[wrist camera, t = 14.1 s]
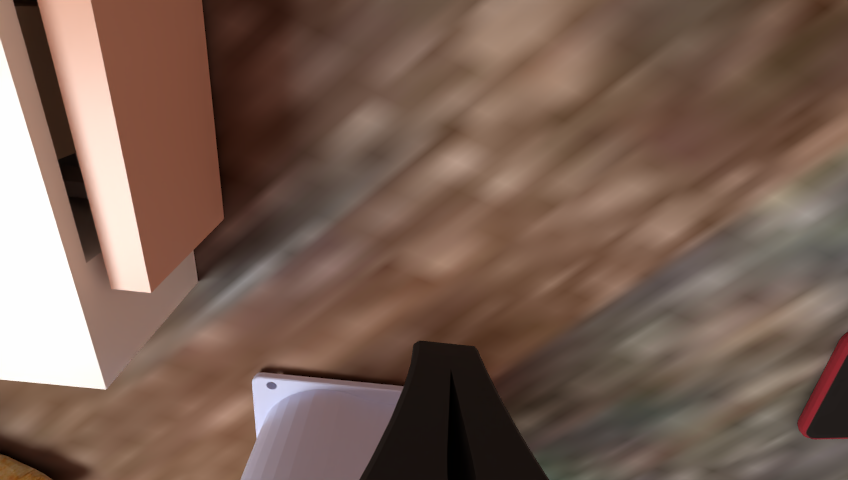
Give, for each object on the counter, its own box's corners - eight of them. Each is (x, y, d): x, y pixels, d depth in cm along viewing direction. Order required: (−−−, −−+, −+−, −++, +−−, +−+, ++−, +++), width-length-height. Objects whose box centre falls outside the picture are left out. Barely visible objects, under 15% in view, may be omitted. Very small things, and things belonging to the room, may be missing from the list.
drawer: (190, -111, 13) (53, -179, 8) (224, 218, 18) (151, 293, 14) (-138, -159, 13) (-479, -260, 8) (-10, 192, 18) (-170, 259, 13)
